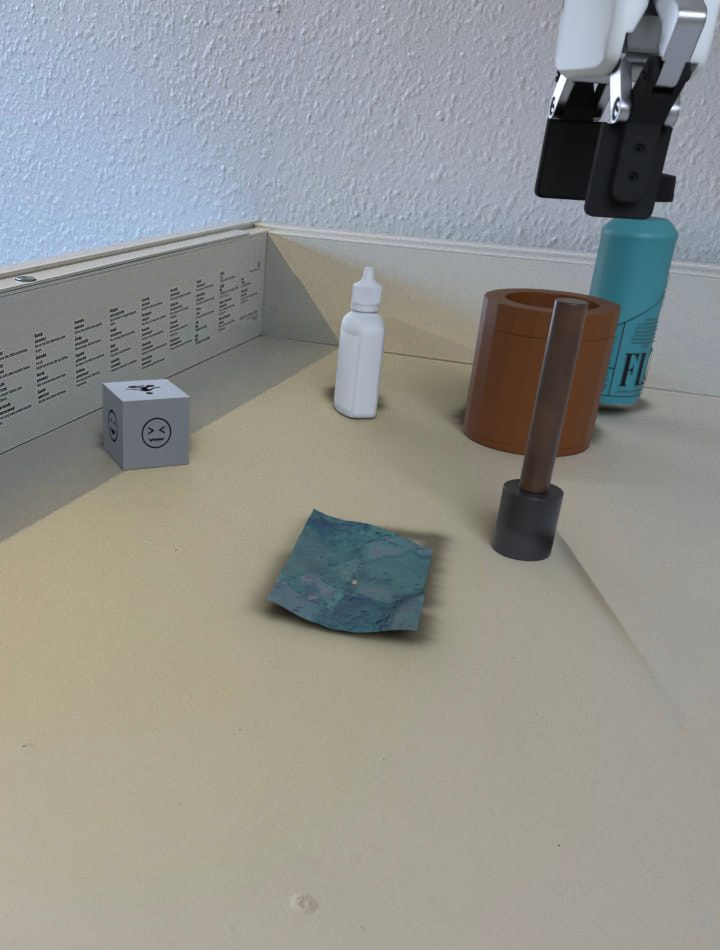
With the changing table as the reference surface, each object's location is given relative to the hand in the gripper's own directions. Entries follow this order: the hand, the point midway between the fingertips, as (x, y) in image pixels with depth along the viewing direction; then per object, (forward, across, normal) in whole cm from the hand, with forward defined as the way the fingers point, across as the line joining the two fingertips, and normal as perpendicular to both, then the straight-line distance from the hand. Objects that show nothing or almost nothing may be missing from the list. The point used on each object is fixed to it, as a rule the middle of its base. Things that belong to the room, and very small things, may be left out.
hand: (586, 207), depth 52 cm
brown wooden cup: (+20, +24, -6) cm, 32 cm away
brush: (+20, 0, 0) cm, 20 cm away
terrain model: (+20, -7, +11) cm, 24 cm away
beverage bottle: (+20, +33, -15) cm, 41 cm away
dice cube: (+20, +14, +25) cm, 35 cm away
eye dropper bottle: (+20, +29, +8) cm, 36 cm away
